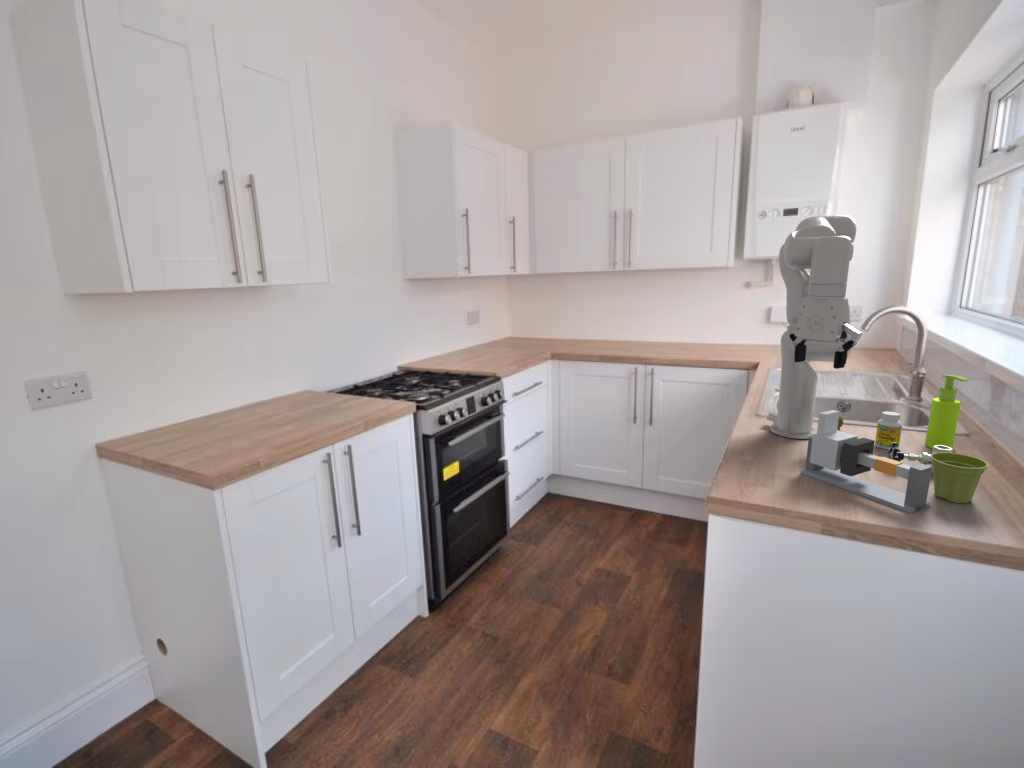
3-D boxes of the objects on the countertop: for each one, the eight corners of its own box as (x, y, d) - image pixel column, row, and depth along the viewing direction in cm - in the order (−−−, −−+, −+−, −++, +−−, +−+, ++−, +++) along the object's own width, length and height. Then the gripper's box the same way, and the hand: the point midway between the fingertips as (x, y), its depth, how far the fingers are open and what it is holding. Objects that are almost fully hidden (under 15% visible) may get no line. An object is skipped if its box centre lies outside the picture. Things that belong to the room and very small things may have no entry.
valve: (945, 469, 126) (885, 462, 131) (949, 444, 124) (889, 438, 130) (953, 479, 120) (891, 472, 125) (958, 453, 119) (895, 446, 124)
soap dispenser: (944, 452, 137) (957, 378, 132) (919, 444, 143) (930, 373, 139) (962, 450, 138) (975, 377, 133) (936, 442, 144) (948, 372, 140)
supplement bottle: (900, 446, 142) (905, 412, 140) (896, 451, 138) (902, 417, 136) (876, 442, 145) (881, 409, 143) (872, 447, 142) (877, 413, 140)
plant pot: (934, 504, 108) (940, 465, 106) (917, 486, 117) (923, 450, 115) (990, 510, 105) (998, 470, 103) (968, 491, 114) (975, 454, 112)
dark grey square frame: (840, 472, 117) (843, 442, 115) (859, 467, 120) (863, 437, 118) (850, 476, 115) (854, 445, 113) (870, 470, 118) (874, 440, 116)
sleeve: (809, 462, 123) (815, 413, 121) (829, 457, 126) (835, 409, 124) (834, 470, 118) (840, 419, 115) (854, 465, 121) (860, 415, 118)
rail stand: (800, 472, 126) (804, 437, 124) (819, 467, 129) (823, 433, 127) (910, 513, 105) (916, 471, 103) (929, 505, 107) (936, 465, 106)
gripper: (781, 291, 125) (775, 360, 129) (855, 293, 110) (845, 372, 113) (802, 290, 128) (795, 357, 132) (876, 292, 113) (866, 368, 117)
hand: (818, 364), depth 123 cm, fingers open, 9 cm apart
